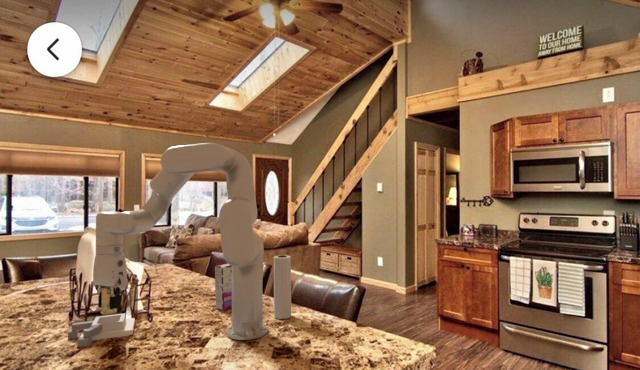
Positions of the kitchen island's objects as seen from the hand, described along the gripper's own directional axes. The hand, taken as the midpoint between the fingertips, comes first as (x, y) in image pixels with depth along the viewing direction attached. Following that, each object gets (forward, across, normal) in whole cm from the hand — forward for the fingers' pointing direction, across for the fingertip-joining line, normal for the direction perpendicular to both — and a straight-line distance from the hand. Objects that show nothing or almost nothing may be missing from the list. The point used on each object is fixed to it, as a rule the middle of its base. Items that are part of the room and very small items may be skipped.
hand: (109, 306), depth 117 cm
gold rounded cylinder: (+2, 0, 0) cm, 2 cm away
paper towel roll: (+8, -46, -32) cm, 56 cm away
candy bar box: (+8, -21, -35) cm, 42 cm away
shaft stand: (+8, 0, +3) cm, 8 cm away
